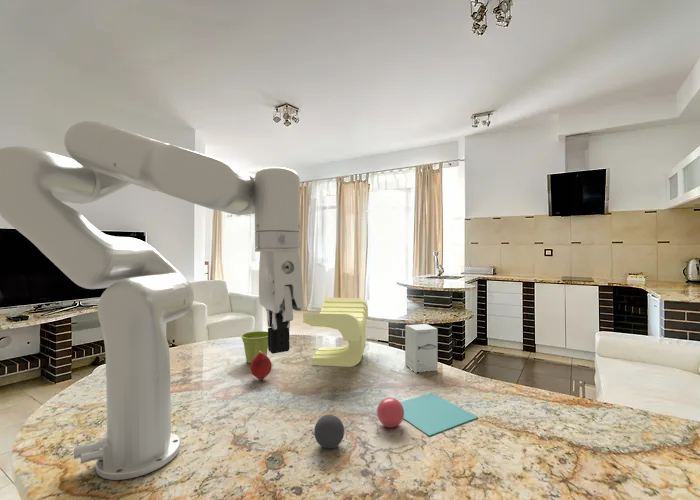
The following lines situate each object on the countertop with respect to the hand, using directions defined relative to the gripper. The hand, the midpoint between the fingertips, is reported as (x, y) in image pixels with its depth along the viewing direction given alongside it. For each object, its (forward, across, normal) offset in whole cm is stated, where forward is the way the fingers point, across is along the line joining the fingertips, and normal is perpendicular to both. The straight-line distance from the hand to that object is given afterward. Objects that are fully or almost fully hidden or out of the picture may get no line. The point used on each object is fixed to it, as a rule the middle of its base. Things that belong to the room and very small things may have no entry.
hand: (278, 350), depth 58 cm
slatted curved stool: (+19, +42, -34) cm, 58 cm away
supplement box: (+19, +22, -52) cm, 59 cm away
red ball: (+16, 0, -24) cm, 29 cm away
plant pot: (+19, +54, -10) cm, 58 cm away
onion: (+19, +38, -8) cm, 43 cm away
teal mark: (+19, 0, -34) cm, 39 cm away
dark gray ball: (+16, 0, -10) cm, 19 cm away
